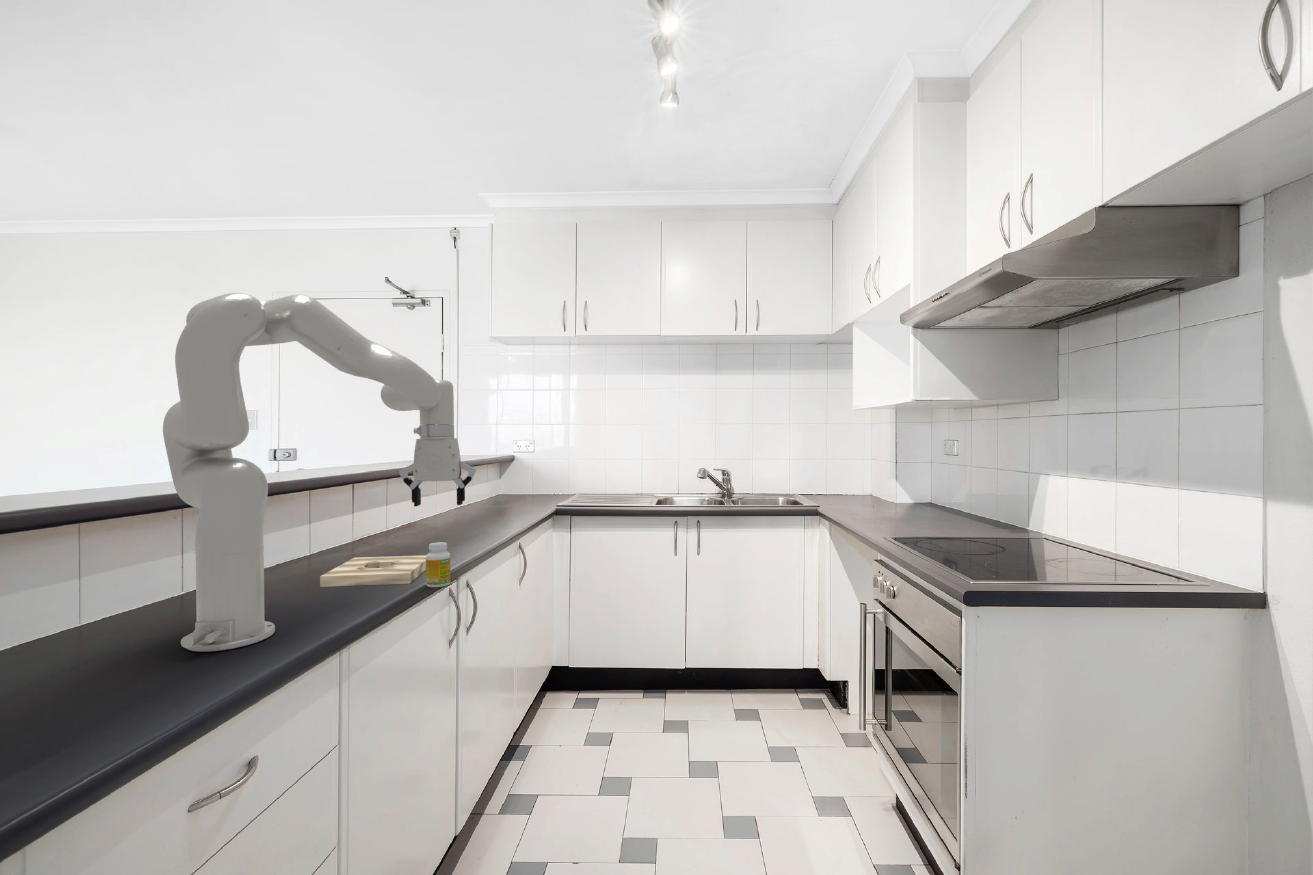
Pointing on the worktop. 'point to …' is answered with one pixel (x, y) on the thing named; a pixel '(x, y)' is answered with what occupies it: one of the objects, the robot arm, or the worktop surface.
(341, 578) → the plate
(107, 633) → the worktop surface
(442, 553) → the supplement bottle
